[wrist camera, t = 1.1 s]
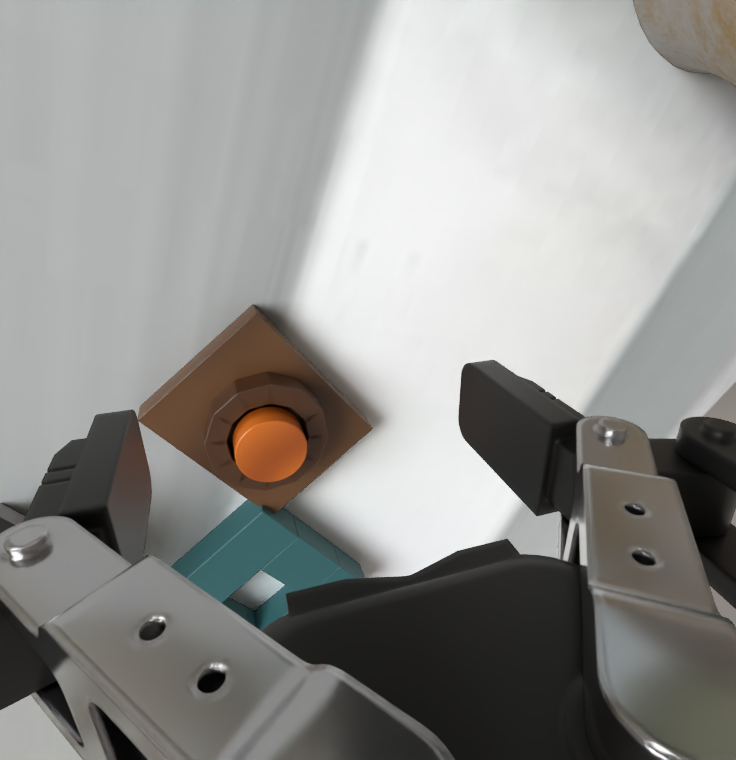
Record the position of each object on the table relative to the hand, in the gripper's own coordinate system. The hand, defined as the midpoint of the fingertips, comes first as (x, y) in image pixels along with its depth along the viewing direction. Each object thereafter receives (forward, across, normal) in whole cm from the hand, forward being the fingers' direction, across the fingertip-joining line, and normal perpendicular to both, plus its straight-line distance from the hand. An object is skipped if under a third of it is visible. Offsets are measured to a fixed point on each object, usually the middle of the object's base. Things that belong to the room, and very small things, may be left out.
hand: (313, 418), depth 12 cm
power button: (+15, 0, +9) cm, 18 cm away
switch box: (+18, 0, +9) cm, 20 cm away
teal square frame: (+19, +2, +23) cm, 30 cm away
